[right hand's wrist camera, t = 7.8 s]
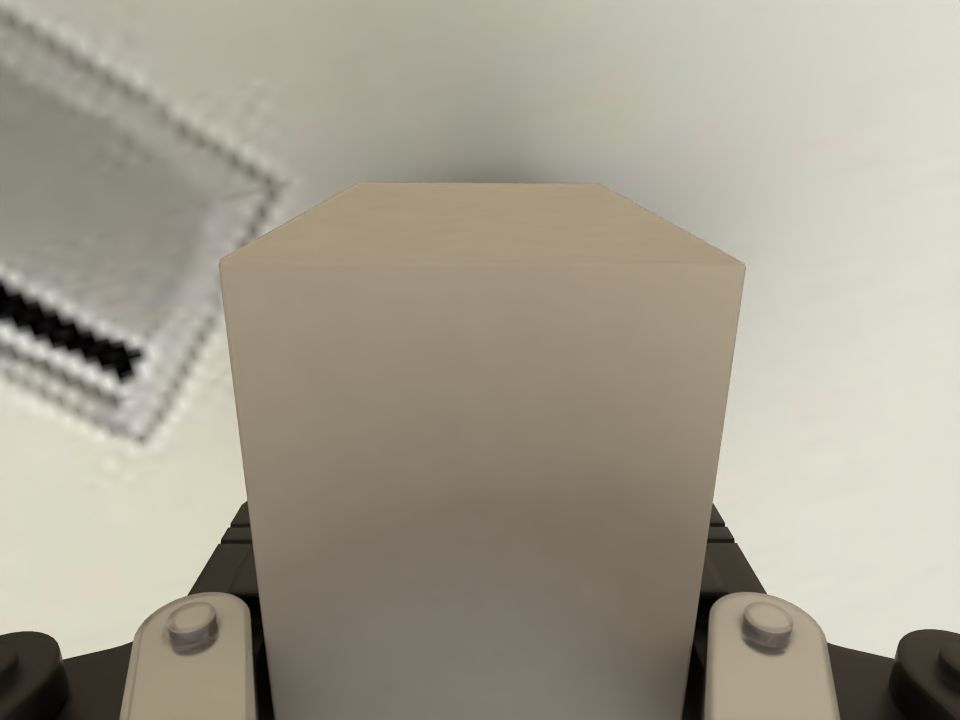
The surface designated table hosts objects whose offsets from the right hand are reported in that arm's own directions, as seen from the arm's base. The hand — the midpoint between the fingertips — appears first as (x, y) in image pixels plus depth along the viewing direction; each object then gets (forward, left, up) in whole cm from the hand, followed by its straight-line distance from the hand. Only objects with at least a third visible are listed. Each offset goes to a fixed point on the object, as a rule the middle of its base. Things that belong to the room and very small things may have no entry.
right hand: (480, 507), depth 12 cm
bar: (+21, -10, -3) cm, 24 cm away
